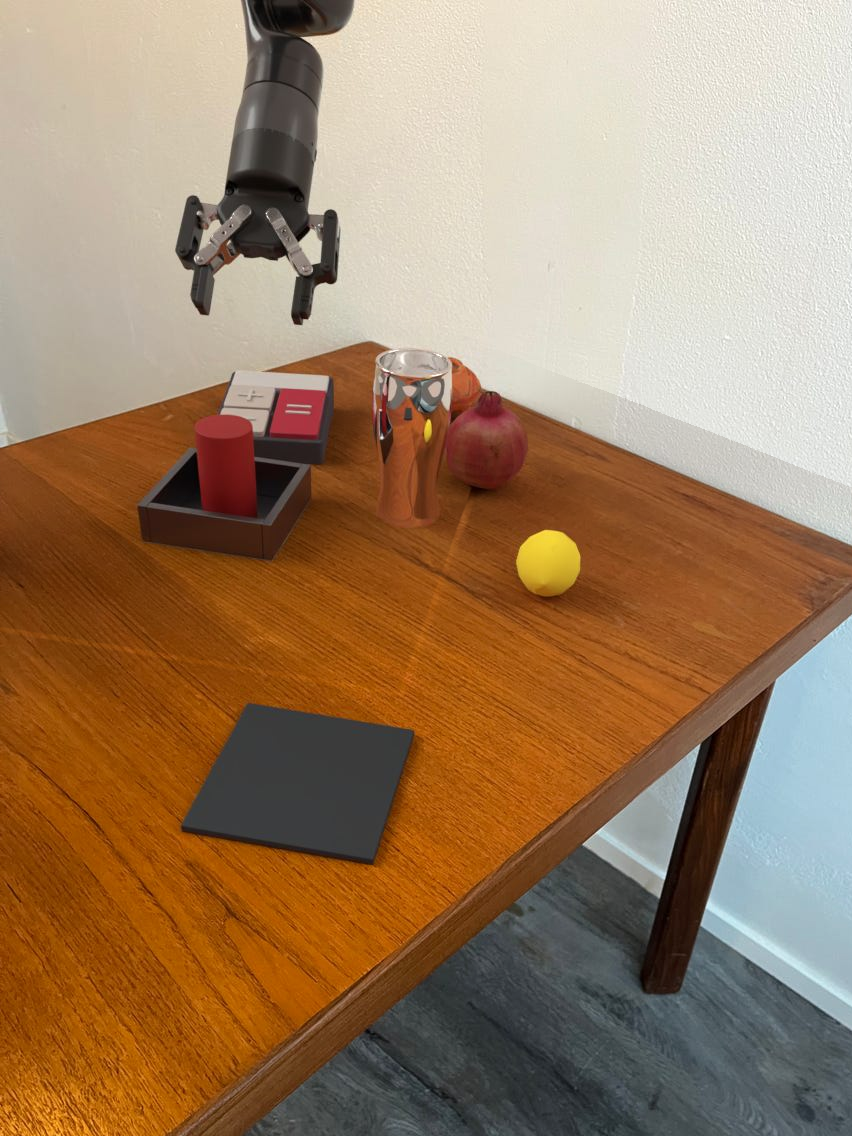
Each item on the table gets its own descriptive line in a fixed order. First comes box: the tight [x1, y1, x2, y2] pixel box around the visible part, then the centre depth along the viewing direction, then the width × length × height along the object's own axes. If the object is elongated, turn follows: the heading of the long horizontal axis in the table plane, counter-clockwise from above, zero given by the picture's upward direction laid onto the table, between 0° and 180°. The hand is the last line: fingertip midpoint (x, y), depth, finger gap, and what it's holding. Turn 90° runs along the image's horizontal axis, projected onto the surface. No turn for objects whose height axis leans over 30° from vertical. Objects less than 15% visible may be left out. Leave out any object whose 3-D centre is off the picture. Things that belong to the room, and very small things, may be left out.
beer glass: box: [371, 347, 453, 529], centre depth 90 cm, size 7×7×15 cm
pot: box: [447, 356, 482, 414], centre depth 113 cm, size 8×8×7 cm
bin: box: [136, 447, 312, 562], centre depth 90 cm, size 12×12×4 cm
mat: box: [180, 702, 415, 865], centre depth 66 cm, size 12×12×1 cm
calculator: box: [217, 369, 335, 466], centre depth 105 cm, size 11×4×15 cm
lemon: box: [515, 529, 581, 597], centre depth 85 cm, size 7×5×5 cm
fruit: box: [445, 390, 529, 490], centre depth 98 cm, size 8×8×10 cm
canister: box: [194, 414, 258, 519], centre depth 88 cm, size 5×5×9 cm
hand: (249, 316), depth 90 cm, fingers open, 8 cm apart
